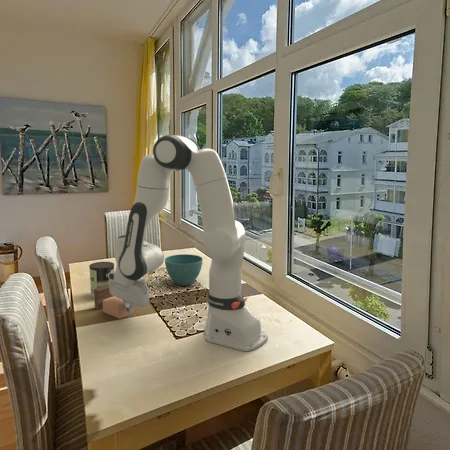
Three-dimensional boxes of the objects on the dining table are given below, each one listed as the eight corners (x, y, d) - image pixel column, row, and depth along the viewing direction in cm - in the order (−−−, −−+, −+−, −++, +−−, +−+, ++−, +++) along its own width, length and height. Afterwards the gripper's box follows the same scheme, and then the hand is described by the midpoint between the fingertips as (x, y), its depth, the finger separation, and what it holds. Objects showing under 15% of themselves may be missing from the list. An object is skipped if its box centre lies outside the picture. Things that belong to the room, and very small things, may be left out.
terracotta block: (135, 311, 142) (135, 299, 141) (119, 318, 135) (118, 306, 134) (119, 305, 147) (119, 294, 146) (103, 312, 141) (102, 300, 140)
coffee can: (119, 292, 162) (118, 262, 159) (107, 300, 152) (106, 268, 149) (98, 290, 164) (97, 260, 161) (85, 298, 154) (84, 267, 151)
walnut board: (139, 295, 158) (139, 278, 156) (99, 309, 142) (98, 290, 141) (135, 294, 160) (134, 277, 158) (94, 307, 144) (93, 289, 143)
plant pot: (158, 286, 170) (157, 261, 168) (175, 275, 187) (175, 252, 185) (193, 291, 164) (193, 265, 162) (207, 279, 181) (208, 256, 179)
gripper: (153, 280, 130) (153, 316, 132) (119, 269, 142) (120, 302, 145) (139, 284, 125) (140, 322, 127) (105, 272, 137) (106, 306, 140)
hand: (129, 311), depth 136 cm, fingers closed
